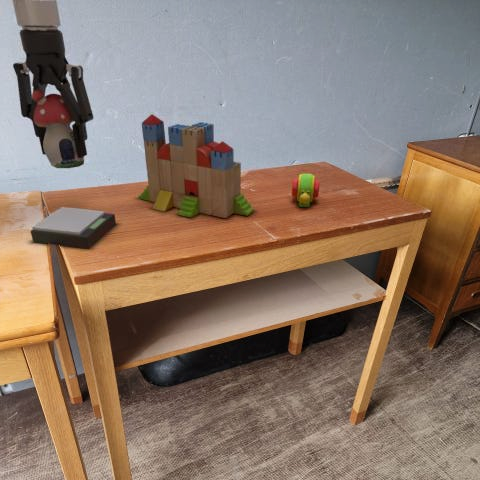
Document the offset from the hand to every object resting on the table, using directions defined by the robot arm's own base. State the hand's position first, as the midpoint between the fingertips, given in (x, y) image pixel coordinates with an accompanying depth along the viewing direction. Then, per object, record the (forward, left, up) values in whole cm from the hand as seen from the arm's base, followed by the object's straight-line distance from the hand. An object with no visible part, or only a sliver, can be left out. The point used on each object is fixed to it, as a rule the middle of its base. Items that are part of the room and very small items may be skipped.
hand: (65, 154), depth 96 cm
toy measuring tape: (+51, +21, -12) cm, 57 cm away
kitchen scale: (+7, -13, -12) cm, 19 cm away
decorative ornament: (0, 0, -2) cm, 2 cm away
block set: (+26, +8, -12) cm, 30 cm away
